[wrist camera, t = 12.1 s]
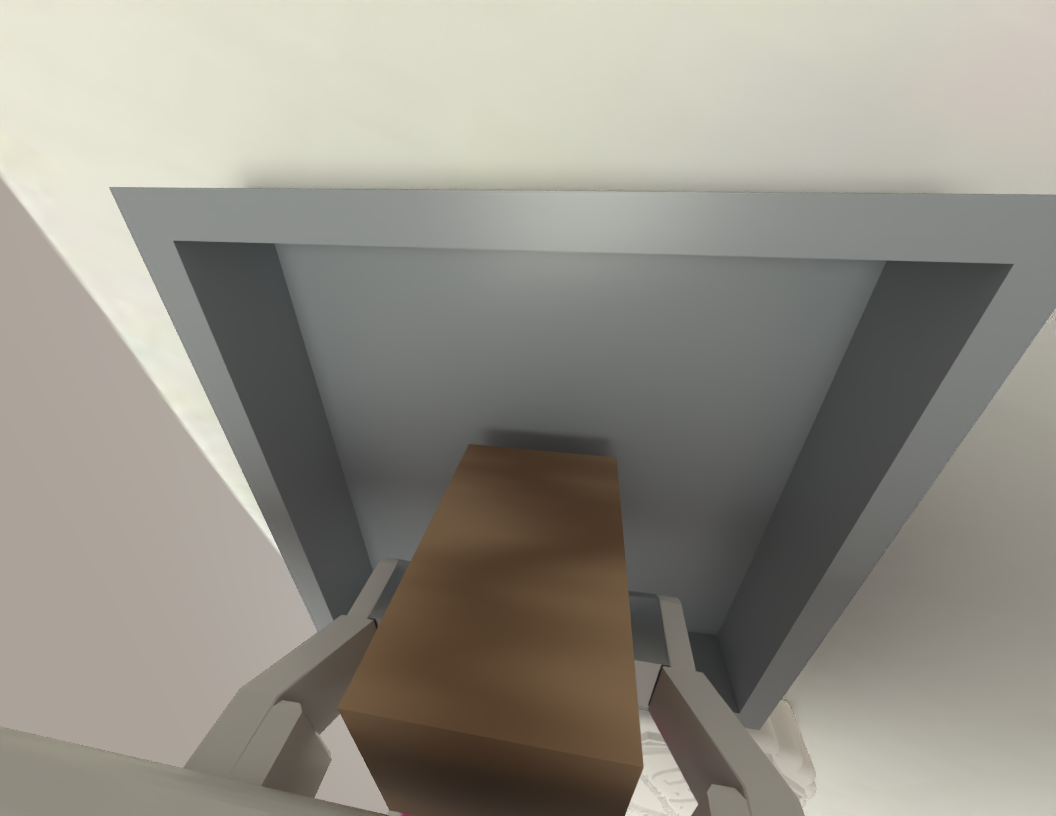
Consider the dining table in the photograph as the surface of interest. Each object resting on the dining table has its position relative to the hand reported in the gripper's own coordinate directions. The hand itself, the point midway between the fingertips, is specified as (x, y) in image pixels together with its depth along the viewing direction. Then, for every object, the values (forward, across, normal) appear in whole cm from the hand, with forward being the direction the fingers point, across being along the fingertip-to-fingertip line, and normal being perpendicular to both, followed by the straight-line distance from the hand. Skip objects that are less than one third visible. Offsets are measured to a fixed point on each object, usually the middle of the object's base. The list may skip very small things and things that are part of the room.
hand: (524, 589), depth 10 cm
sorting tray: (+5, 0, 0) cm, 5 cm away
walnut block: (+3, 0, 0) cm, 3 cm away
